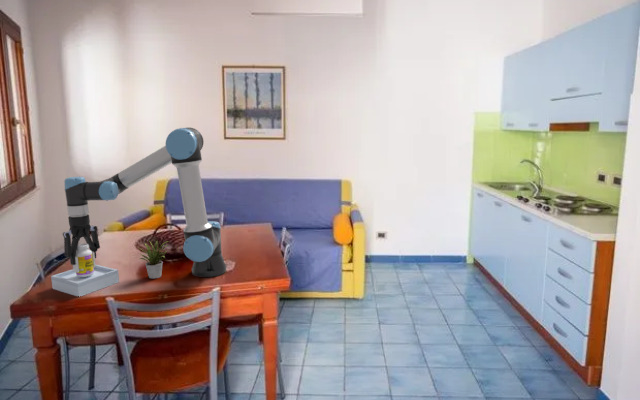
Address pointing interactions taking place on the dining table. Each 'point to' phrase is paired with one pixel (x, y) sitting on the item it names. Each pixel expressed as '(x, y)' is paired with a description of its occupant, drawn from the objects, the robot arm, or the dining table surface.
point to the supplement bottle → (84, 260)
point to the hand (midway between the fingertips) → (84, 268)
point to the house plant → (154, 260)
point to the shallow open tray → (85, 281)
